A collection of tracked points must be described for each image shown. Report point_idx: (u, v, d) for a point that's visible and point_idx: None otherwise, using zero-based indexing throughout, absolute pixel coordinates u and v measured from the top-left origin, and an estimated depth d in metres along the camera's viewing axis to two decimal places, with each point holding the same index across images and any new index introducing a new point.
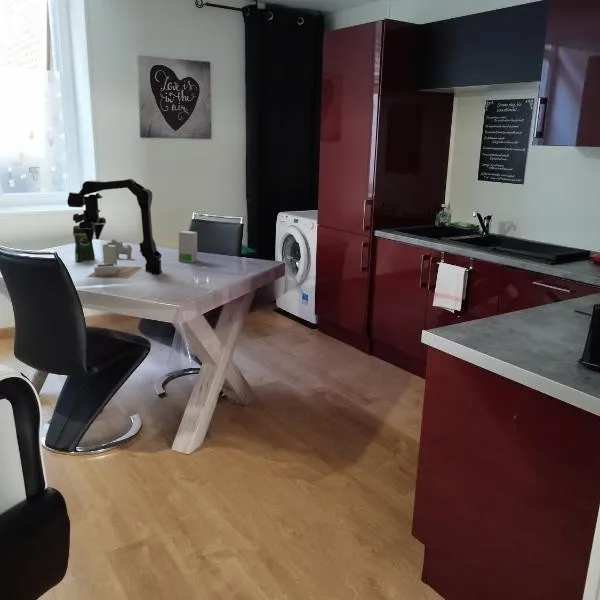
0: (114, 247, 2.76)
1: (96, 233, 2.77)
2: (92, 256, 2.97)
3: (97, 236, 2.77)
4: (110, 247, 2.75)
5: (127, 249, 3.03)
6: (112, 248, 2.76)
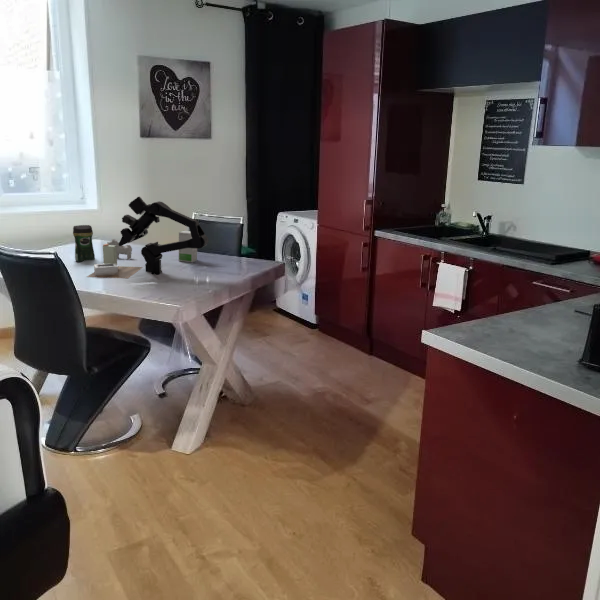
0: (114, 247, 2.76)
1: None
2: (92, 256, 2.97)
3: None
4: (110, 247, 2.75)
5: (127, 249, 3.03)
6: (112, 248, 2.76)
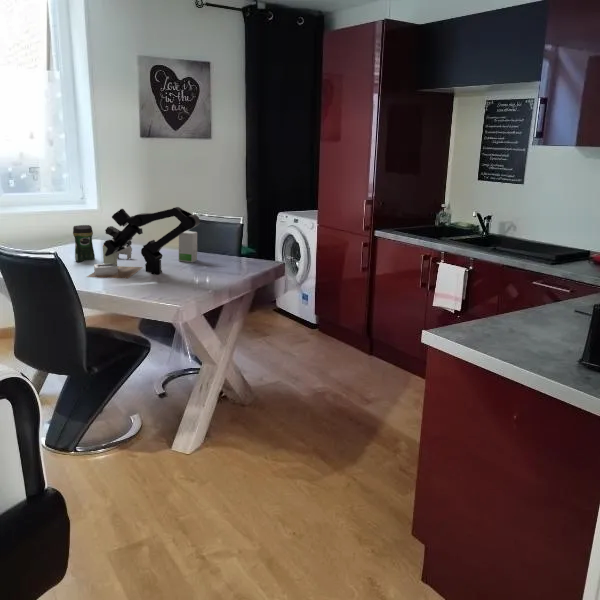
0: None
1: None
2: (92, 256, 2.97)
3: None
4: None
5: (127, 249, 3.03)
6: None
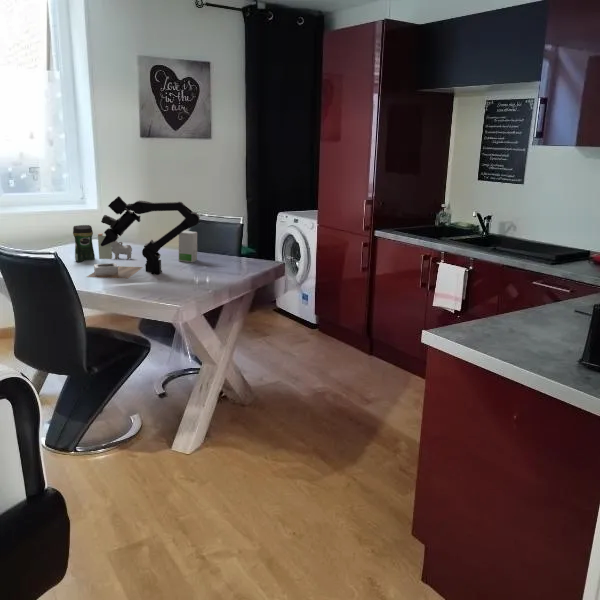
0: None
1: None
2: (92, 256, 2.97)
3: None
4: None
5: (127, 249, 3.03)
6: None
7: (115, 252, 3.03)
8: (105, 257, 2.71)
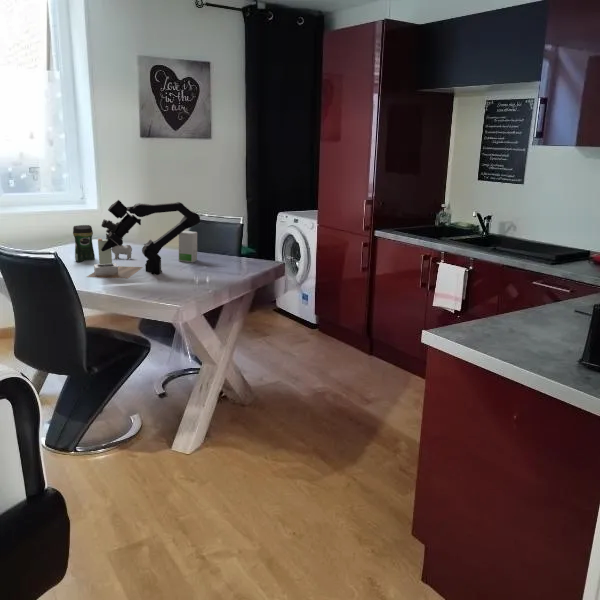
0: None
1: None
2: (92, 256, 2.97)
3: None
4: None
5: (127, 249, 3.03)
6: None
7: (115, 252, 3.03)
8: (106, 262, 2.66)
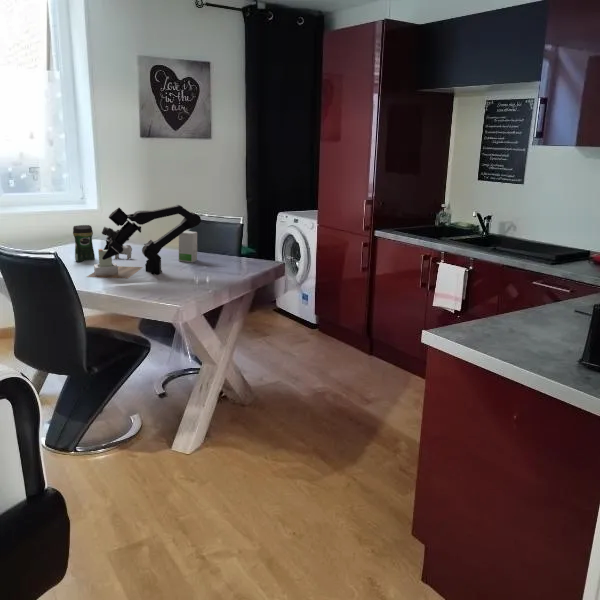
0: None
1: None
2: (92, 256, 2.97)
3: None
4: None
5: (127, 249, 3.03)
6: None
7: None
8: None
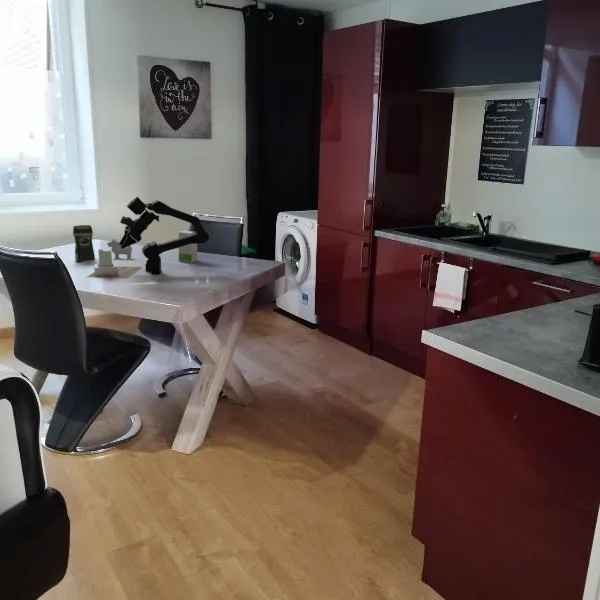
0: None
1: (123, 240, 2.72)
2: (92, 256, 2.97)
3: (122, 243, 2.72)
4: (108, 252, 2.65)
5: (127, 249, 3.03)
6: (110, 252, 2.65)
7: (115, 252, 3.03)
8: None
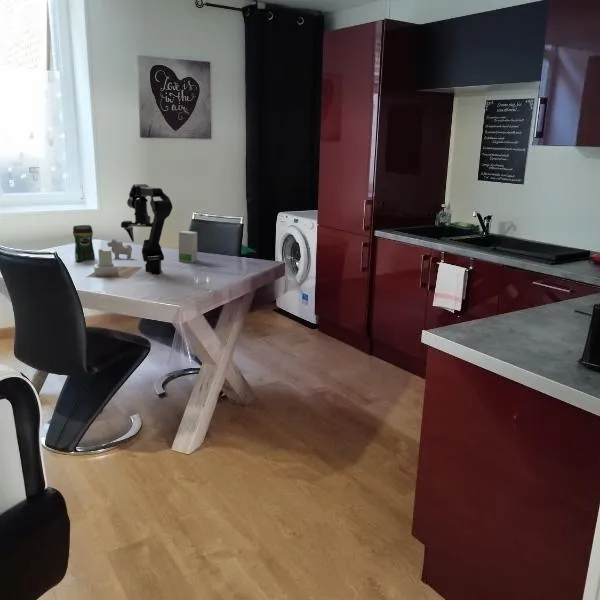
0: None
1: None
2: (92, 256, 2.97)
3: None
4: (108, 252, 2.65)
5: (127, 249, 3.03)
6: (110, 252, 2.65)
7: (115, 252, 3.03)
8: None
